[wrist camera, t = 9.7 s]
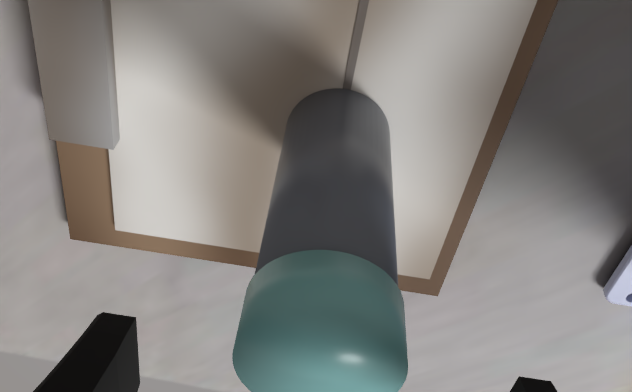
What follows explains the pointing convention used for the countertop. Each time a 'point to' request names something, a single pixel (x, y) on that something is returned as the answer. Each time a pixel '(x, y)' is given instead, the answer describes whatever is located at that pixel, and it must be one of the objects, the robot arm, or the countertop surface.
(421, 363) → the countertop surface
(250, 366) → the cylinder
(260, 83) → the clipboard
